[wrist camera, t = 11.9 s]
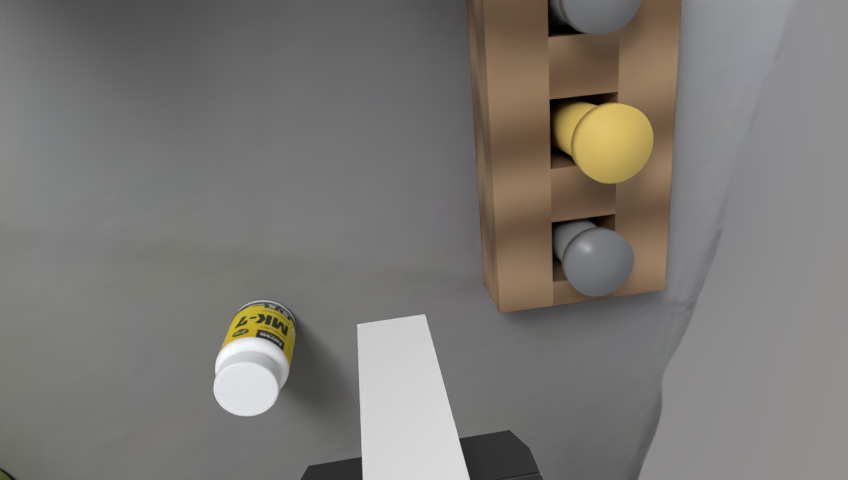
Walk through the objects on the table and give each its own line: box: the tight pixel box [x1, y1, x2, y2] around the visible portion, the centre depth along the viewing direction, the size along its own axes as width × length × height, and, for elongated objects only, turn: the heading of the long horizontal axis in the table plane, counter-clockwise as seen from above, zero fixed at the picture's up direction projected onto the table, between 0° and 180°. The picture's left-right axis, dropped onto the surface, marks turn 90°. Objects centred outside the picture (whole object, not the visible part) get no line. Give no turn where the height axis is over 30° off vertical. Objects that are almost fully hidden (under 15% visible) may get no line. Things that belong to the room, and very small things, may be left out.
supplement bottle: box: [214, 300, 296, 416], centre depth 40 cm, size 5×5×8 cm
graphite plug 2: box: [552, 218, 634, 296], centre depth 40 cm, size 4×4×7 cm
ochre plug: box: [550, 99, 653, 184], centre depth 36 cm, size 4×4×7 cm
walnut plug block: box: [466, 0, 681, 313], centre depth 39 cm, size 24×12×5 cm, turn 5°
